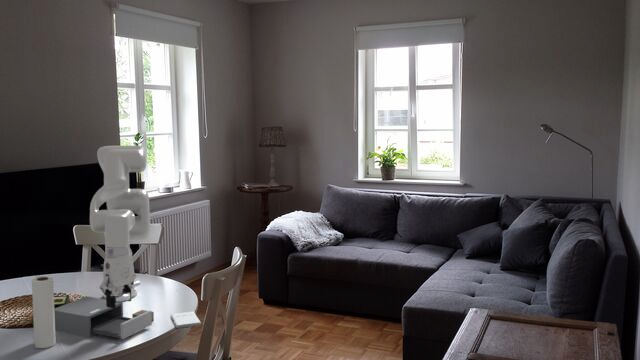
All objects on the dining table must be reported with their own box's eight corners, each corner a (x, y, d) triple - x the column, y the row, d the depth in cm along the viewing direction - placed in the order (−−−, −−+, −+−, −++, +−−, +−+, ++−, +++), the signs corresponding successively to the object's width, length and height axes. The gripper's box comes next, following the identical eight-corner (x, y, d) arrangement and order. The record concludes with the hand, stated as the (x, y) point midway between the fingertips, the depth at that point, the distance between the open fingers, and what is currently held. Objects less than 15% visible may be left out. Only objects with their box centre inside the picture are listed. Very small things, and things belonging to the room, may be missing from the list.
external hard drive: (176, 329, 201) (171, 318, 212) (200, 326, 204) (194, 315, 215) (176, 325, 201) (171, 313, 212) (200, 322, 204) (193, 310, 215)
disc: (134, 298, 197) (134, 292, 197) (120, 303, 191) (120, 298, 190) (117, 295, 200) (117, 290, 200) (103, 301, 193) (103, 296, 193)
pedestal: (142, 319, 208) (141, 309, 208) (153, 321, 207) (153, 311, 206) (132, 324, 204) (132, 314, 204) (144, 326, 202) (144, 316, 202)
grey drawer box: (87, 315, 212) (86, 295, 211) (123, 321, 206) (122, 301, 205) (51, 330, 197) (51, 309, 197) (89, 337, 191) (88, 315, 191)
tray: (112, 317, 206) (112, 304, 206) (151, 324, 200) (151, 310, 200) (82, 331, 194) (81, 316, 193) (123, 338, 187) (123, 324, 187)
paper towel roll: (53, 348, 182) (50, 280, 180) (32, 349, 181) (29, 281, 179) (58, 339, 189) (56, 274, 187) (38, 340, 188) (35, 275, 186)
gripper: (107, 257, 184) (109, 313, 186) (144, 246, 200) (145, 298, 202) (89, 255, 187) (90, 310, 189) (126, 244, 203) (127, 295, 205)
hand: (119, 303), depth 195 cm, fingers closed on disc, 7 cm apart
